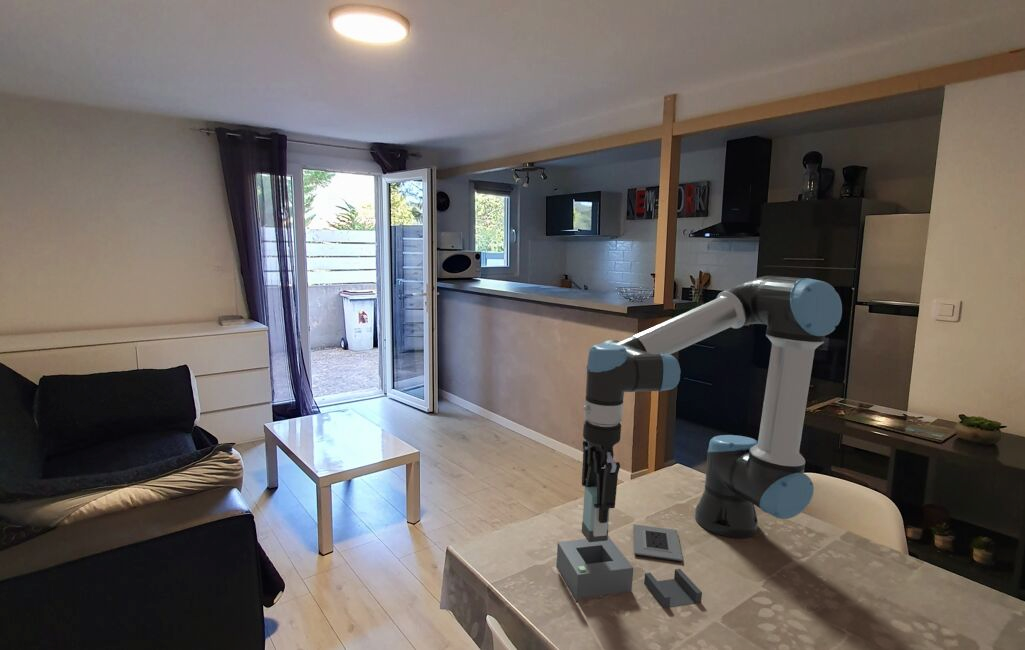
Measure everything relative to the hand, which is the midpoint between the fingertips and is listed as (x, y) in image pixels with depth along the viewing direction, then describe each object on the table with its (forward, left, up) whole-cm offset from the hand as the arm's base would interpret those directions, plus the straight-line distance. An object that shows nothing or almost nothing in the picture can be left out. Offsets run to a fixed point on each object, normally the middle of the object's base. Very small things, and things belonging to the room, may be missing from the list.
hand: (595, 528), depth 112 cm
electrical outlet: (-20, -9, -12) cm, 25 cm away
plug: (0, 0, -2) cm, 2 cm away
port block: (0, 0, -12) cm, 12 cm away
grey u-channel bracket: (-14, +8, -12) cm, 20 cm away
